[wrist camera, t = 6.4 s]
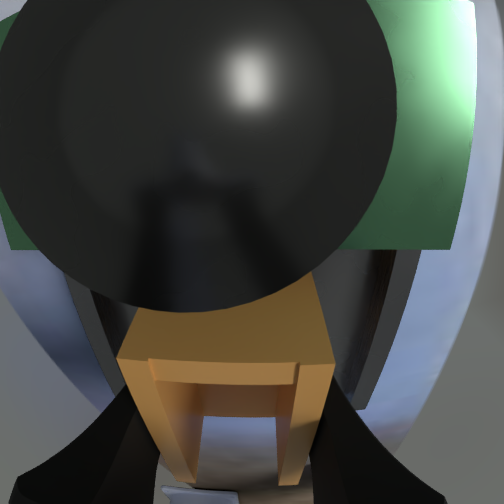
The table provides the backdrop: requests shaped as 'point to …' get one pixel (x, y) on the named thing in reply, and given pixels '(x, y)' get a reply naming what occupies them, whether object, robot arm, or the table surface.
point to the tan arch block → (232, 373)
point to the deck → (237, 156)
